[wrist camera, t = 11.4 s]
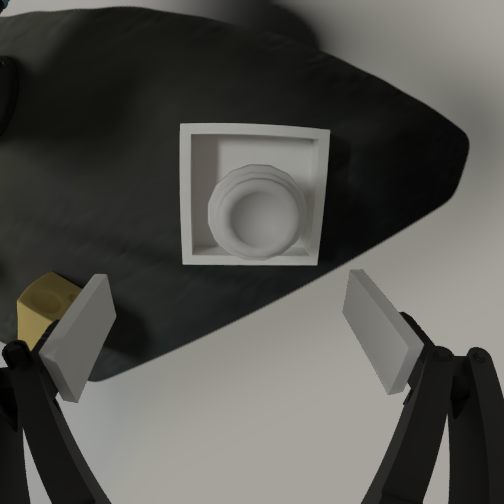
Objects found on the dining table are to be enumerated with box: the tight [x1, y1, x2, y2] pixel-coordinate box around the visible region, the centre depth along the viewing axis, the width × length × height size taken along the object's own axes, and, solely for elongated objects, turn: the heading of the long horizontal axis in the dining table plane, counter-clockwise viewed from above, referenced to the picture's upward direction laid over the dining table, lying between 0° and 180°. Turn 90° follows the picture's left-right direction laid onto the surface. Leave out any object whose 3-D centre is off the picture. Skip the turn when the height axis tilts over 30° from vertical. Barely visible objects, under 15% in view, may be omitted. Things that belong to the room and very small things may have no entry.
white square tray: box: [180, 123, 330, 265], centre depth 35 cm, size 17×17×4 cm
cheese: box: [17, 271, 83, 351], centre depth 37 cm, size 10×11×10 cm
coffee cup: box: [208, 164, 307, 260], centre depth 31 cm, size 9×9×12 cm
